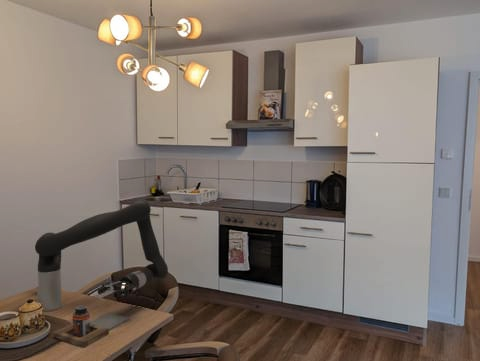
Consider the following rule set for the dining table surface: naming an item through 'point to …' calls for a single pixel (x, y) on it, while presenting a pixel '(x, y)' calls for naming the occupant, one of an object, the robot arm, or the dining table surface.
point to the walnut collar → (86, 340)
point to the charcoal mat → (109, 320)
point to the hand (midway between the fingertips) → (106, 293)
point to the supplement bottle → (81, 321)
